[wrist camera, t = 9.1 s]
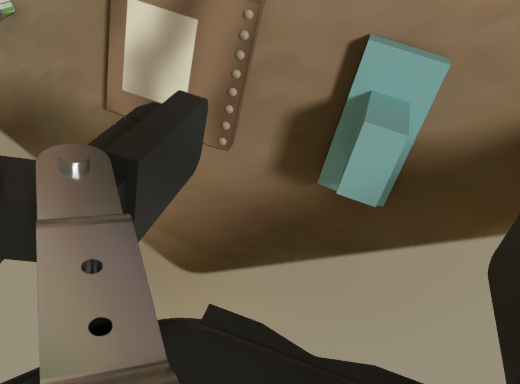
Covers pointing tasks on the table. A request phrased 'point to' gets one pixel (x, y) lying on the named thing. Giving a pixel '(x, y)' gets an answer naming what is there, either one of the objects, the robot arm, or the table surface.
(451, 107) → the table surface
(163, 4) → the board
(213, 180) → the table surface
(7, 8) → the syrup box
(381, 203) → the stub
